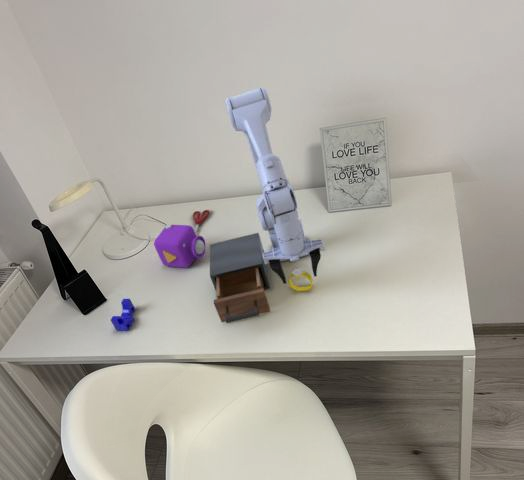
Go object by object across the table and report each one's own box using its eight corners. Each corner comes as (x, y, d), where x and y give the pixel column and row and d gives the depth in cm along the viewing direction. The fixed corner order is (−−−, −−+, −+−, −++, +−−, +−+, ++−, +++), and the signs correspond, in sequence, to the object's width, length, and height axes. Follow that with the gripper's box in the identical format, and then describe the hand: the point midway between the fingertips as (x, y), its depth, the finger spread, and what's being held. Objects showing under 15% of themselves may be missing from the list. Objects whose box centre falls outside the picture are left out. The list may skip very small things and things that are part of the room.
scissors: (210, 211, 176) (209, 208, 175) (201, 237, 166) (200, 235, 165) (194, 213, 177) (193, 211, 177) (185, 239, 167) (184, 237, 167)
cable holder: (128, 331, 143) (122, 320, 140) (116, 330, 144) (110, 320, 141) (140, 309, 148) (134, 298, 146) (129, 309, 149) (123, 298, 147)
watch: (315, 285, 138) (311, 267, 134) (313, 293, 137) (309, 275, 133) (292, 286, 140) (287, 268, 136) (290, 293, 138) (285, 275, 135)
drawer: (272, 325, 130) (265, 305, 126) (222, 336, 132) (213, 317, 127) (266, 279, 143) (260, 259, 139) (220, 290, 145) (213, 270, 140)
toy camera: (205, 269, 154) (193, 241, 148) (161, 272, 158) (148, 245, 152) (214, 245, 162) (203, 217, 155) (172, 248, 166) (160, 221, 159)
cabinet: (270, 288, 142) (262, 263, 136) (219, 300, 143) (209, 276, 137) (265, 257, 152) (258, 232, 146) (218, 268, 153) (209, 244, 147)
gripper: (259, 251, 124) (272, 294, 133) (322, 236, 123) (331, 280, 132) (257, 233, 130) (270, 276, 139) (317, 218, 128) (326, 263, 137)
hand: (299, 277), depth 136 cm, fingers open, 7 cm apart
